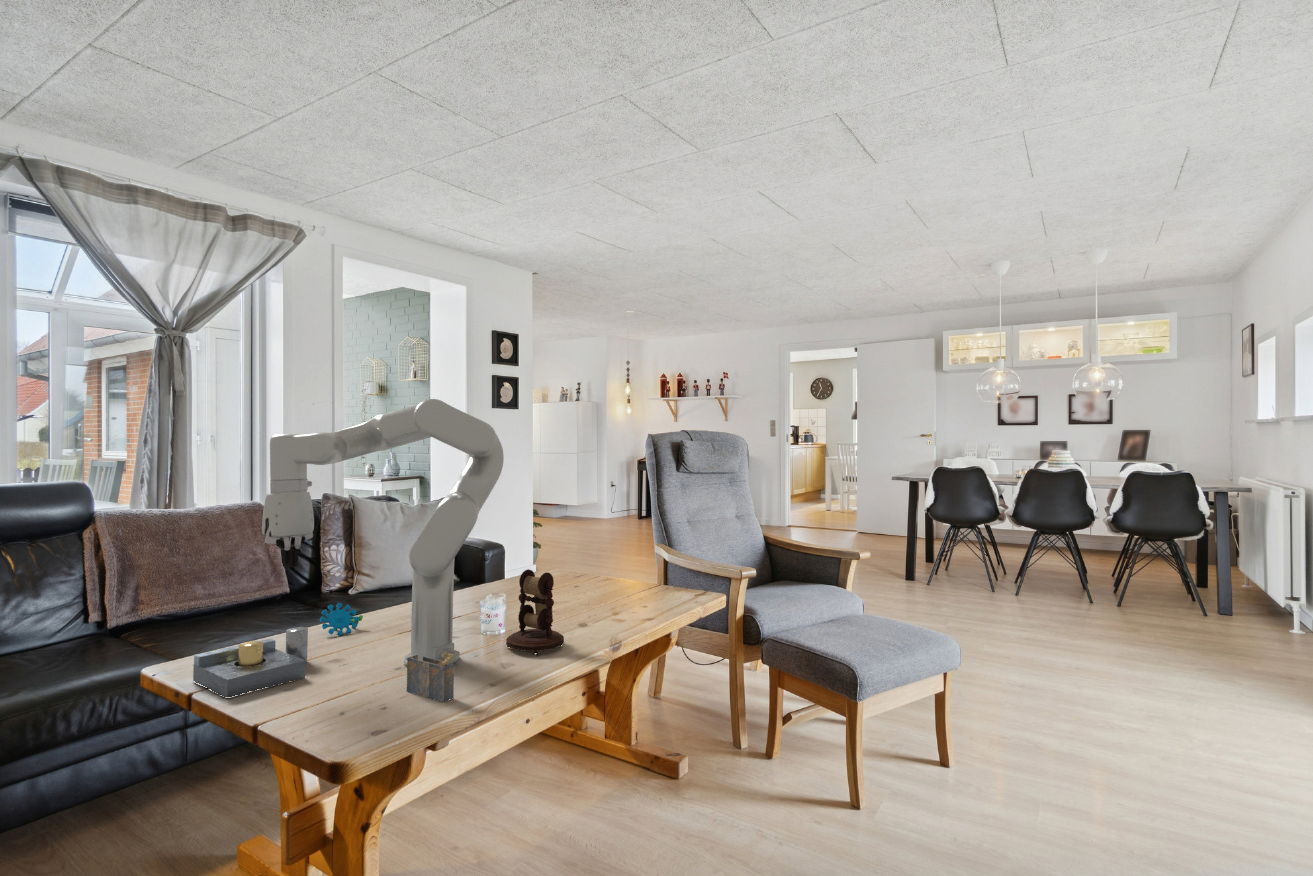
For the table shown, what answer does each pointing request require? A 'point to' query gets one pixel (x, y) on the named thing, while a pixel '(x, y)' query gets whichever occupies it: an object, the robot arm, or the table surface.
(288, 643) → the metal cylinder plug
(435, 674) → the rusty open-top box
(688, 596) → the table surface
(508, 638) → the brown spool rack
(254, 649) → the brass cylinder plug
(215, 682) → the jig
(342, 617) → the blue spiky piece
